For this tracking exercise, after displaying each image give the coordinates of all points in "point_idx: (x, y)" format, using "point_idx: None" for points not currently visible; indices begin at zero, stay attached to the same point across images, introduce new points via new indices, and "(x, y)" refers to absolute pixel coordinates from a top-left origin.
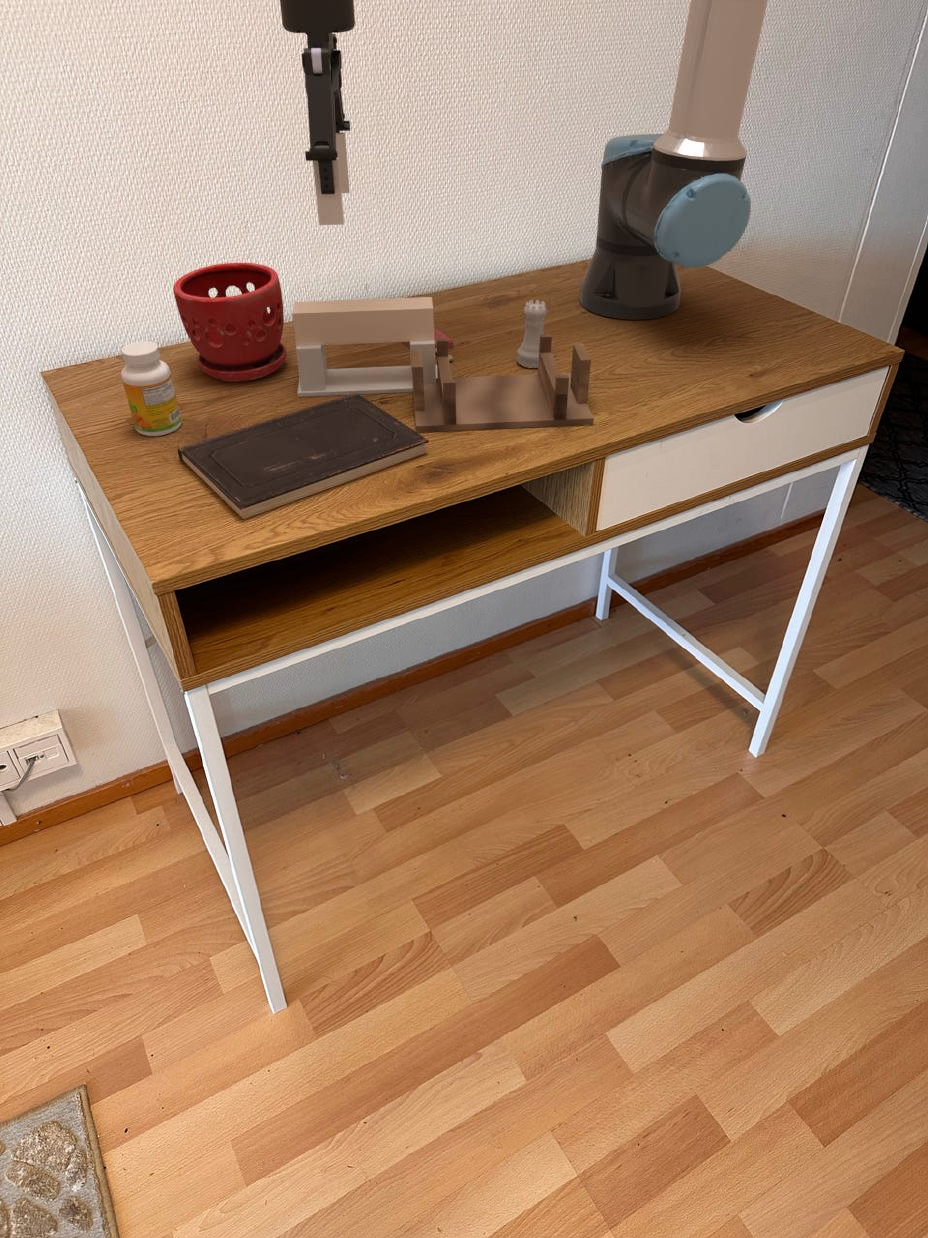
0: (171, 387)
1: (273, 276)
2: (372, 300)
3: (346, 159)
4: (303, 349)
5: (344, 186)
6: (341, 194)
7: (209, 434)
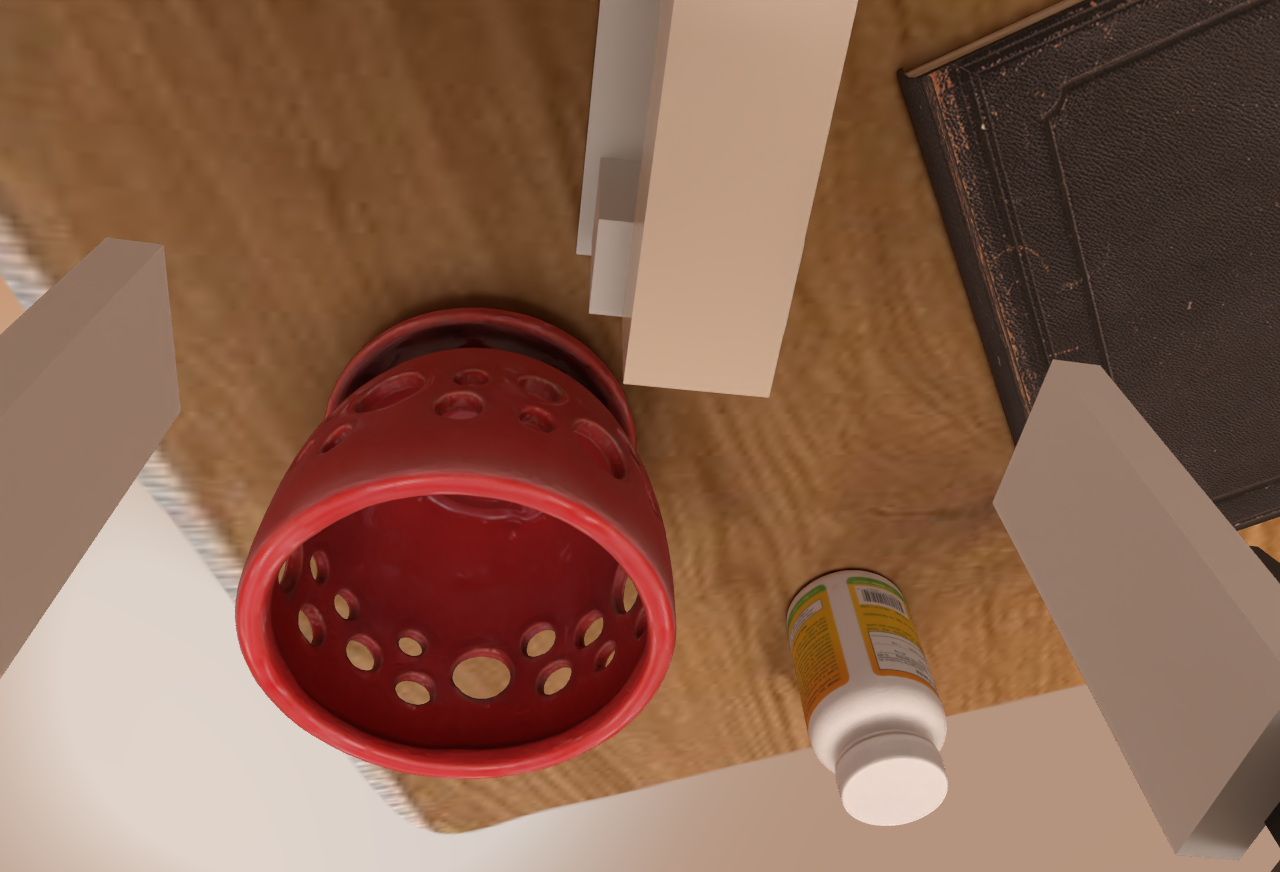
0: (899, 653)
1: (460, 489)
2: (697, 6)
3: (34, 381)
4: (790, 304)
5: (151, 303)
6: (1151, 473)
7: (939, 505)
